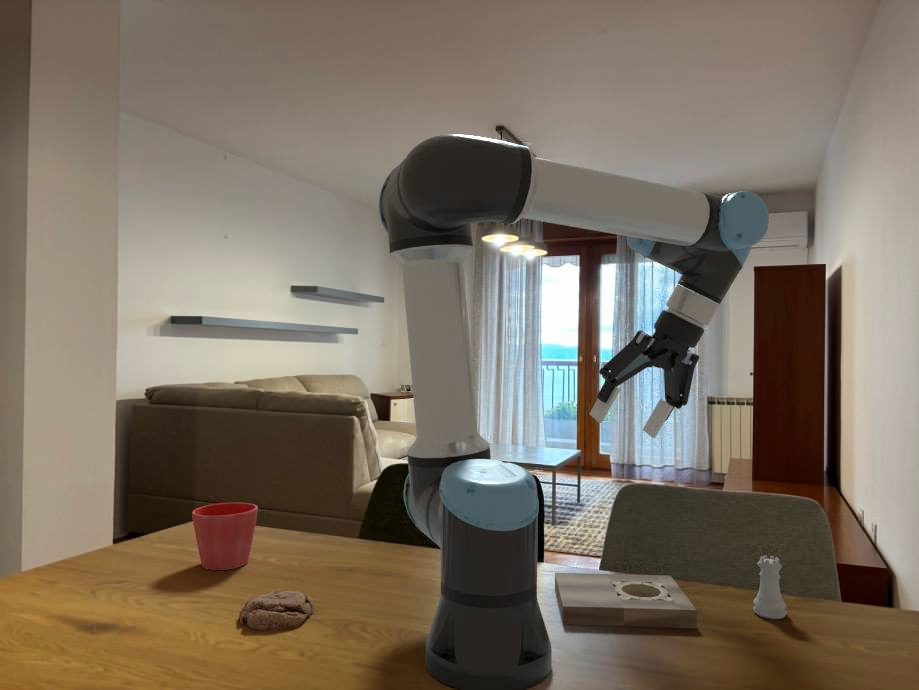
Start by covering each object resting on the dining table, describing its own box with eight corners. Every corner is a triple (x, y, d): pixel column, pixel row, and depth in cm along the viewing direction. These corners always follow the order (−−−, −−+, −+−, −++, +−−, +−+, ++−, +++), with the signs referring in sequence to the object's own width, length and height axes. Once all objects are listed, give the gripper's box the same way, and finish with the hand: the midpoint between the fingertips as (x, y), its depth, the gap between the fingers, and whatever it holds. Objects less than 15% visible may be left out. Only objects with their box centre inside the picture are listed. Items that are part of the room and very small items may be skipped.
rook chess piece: (780, 608, 97) (779, 554, 97) (792, 621, 93) (792, 563, 93) (748, 607, 98) (748, 553, 98) (759, 619, 93) (758, 562, 93)
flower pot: (194, 557, 120) (194, 503, 120) (257, 552, 124) (257, 500, 124) (188, 576, 110) (189, 517, 110) (257, 570, 113) (258, 513, 114)
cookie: (327, 608, 98) (327, 587, 98) (288, 637, 87) (288, 614, 87) (267, 600, 100) (267, 580, 100) (223, 628, 90) (224, 606, 90)
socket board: (696, 628, 90) (696, 610, 90) (562, 624, 91) (563, 606, 91) (670, 591, 104) (670, 575, 104) (554, 588, 105) (554, 572, 105)
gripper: (714, 329, 119) (655, 429, 124) (620, 286, 106) (558, 400, 111) (745, 346, 113) (683, 450, 118) (650, 303, 100) (583, 423, 105)
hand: (622, 426), depth 114 cm, fingers open, 13 cm apart
